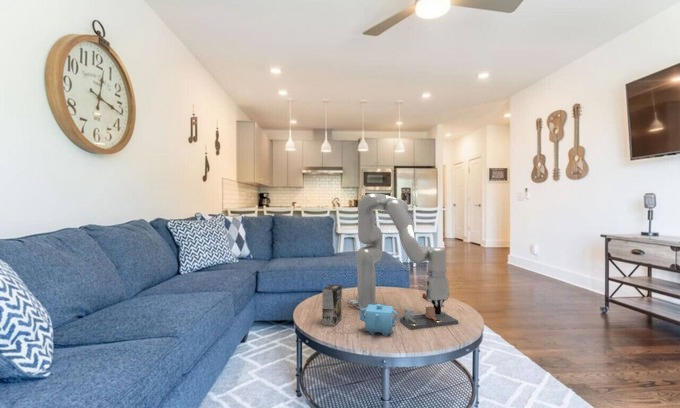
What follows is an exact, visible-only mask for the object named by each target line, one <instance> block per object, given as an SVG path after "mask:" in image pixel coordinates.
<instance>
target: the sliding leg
mask: <svg viewBox="0 0 680 408" xmlns="http://www.w3.org/2000/svg"><path fill="white" fill-rule="evenodd" d="M425 313H426V317H427V318H429V319H431V318H432V319H434V320H437V319H436V318H435V308H434V306H425Z"/></svg>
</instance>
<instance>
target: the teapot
mask: <svg viewBox="0 0 680 408" xmlns="http://www.w3.org/2000/svg"><path fill="white" fill-rule="evenodd" d="M394 314H395V316H394ZM359 316H360V317H359V319H360V321H362V322H364V324H365V332H369V333H368V334H370V335H375V334H376V333H382V336H385V337H387V336H389V334H392V333H393V328H395V327H397V324H396V322H395V321H396V320H397V318H398V312H397V311H396V310H395V309H394V307H393V305H383V304H381V303H378V304H377V305H370V304H369V305H368V307H367V308H361V309H359Z"/></svg>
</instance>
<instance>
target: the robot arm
mask: <svg viewBox="0 0 680 408" xmlns="http://www.w3.org/2000/svg"><path fill="white" fill-rule="evenodd" d="M374 210H375V211H376V210H379V211H384V212H386V213H387V214H388V215H389V217H390V219H391V221H392V223H393V224H394V226H395V228H396V231H397V232H398V235H399V236H398V237H399V239H400V244H401V246H402V248H403V250H404V252H405V254H406V255H407V258H408V259H409V260H410V261H411V263H414V264H419V265H420V264H422V263H424V262H428V272H426V275H427V278H426V284H425V285H426V286H425V295H426V297H427V300H426V299H425V300H426V302H427V303H432V305H433V308H435V314H437V315H440V314H441V311H442V307H443V306H442V304H443V303H444V302H447V301H449V298H450V285H449V278H448V277H447V269H446V268H447V263H446V262H447V260H446V259H447V257H446V256H447V253H446V249H445V248H444V247H440V246H439V247H438V246H434V247H432V246H427V245H419V243H418V241H417V239H416V236H415V223H414V221H413V220H412V218H411V217H410V215H409V213H408V211H409V204H408V203H407V202H406V201H405V200H403V199H401V198H397V197H393V196H391V195H388V194H387V195H386V194H383V193H375V192H373V193H367V194H365V195H364V196H362V197H360V199H359V201H358V204H357V230H358V231H357V236H358V237H357V238H358V241H359V242H360V243H361V244H362V245H366V246H363V247H361V248H359V249H357V252H356V254H355V260H356V261H355V262H356V269H357V270H356V271H357V296H356V297H355V298H354V299H348V304H349V305H350V304H351V305H354V307H355V308H356V309H358V310H360V309H361V308H367V307H368V305H369V304H370V305H377V304H379V303H378V302H376V301H377V300H376V296H377V295H376V293H377V292H376V289H377V288H376V285H377V283H376V277H377V276H376V268H375V263H377V262H379V261H380V260H381V259H382V257H383V232H382V231H381V230H382V229H381V228H380V227H379V226H378V225H375V216H374Z"/></svg>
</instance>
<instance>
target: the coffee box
mask: <svg viewBox="0 0 680 408" xmlns="http://www.w3.org/2000/svg"><path fill="white" fill-rule="evenodd" d="M342 288H343V286H342V285H341V284H340V285H339V284H328V285H327V286H325V287H324V288H322V305H321V306H322V309H321V311H322V312H321V313H322V316H321V317H322V319H321V321H322V322H321V324H322V325H324V326H330V327H336V326H337V325H338V324H339V323H340V322H341V321H342V318H343V317H342V316H343V314H342V313H343V312H342V311H343V309H342V303H343V301H342V300H343V297H342V295H343V294H342V293H343V289H342Z"/></svg>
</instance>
